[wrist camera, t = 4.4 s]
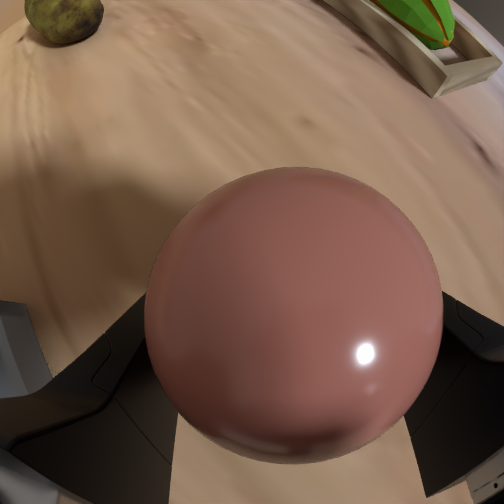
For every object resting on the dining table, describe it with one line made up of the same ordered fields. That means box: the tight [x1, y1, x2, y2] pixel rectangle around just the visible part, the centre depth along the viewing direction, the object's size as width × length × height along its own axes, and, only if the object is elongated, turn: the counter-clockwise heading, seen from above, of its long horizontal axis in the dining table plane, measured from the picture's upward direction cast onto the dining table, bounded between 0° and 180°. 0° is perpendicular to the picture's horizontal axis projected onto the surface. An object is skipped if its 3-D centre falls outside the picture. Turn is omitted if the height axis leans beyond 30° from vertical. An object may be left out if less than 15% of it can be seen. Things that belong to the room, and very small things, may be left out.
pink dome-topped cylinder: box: [144, 167, 444, 464], centre depth 9 cm, size 5×5×13 cm
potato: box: [25, 0, 104, 44], centre depth 19 cm, size 8×13×8 cm, turn 29°
